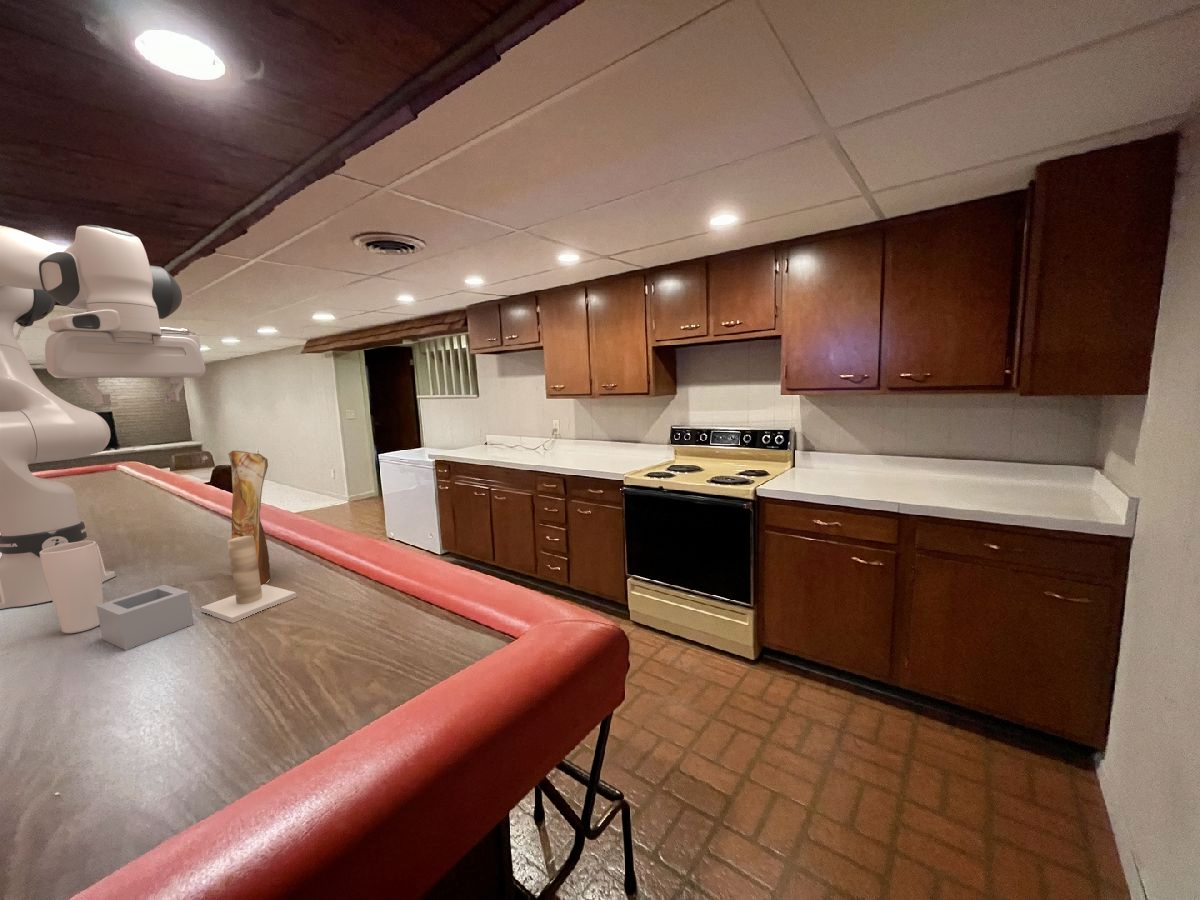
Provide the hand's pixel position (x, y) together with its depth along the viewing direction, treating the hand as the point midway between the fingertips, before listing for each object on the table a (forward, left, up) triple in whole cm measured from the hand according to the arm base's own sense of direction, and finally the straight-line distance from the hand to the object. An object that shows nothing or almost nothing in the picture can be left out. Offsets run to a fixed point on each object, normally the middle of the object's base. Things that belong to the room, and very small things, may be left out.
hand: (140, 403), depth 84 cm
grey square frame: (+6, -6, -39) cm, 40 cm away
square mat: (+11, +7, -39) cm, 41 cm away
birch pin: (+11, +7, -38) cm, 40 cm away
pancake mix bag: (-4, +16, -39) cm, 43 cm away
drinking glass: (-8, -10, -39) cm, 41 cm away
